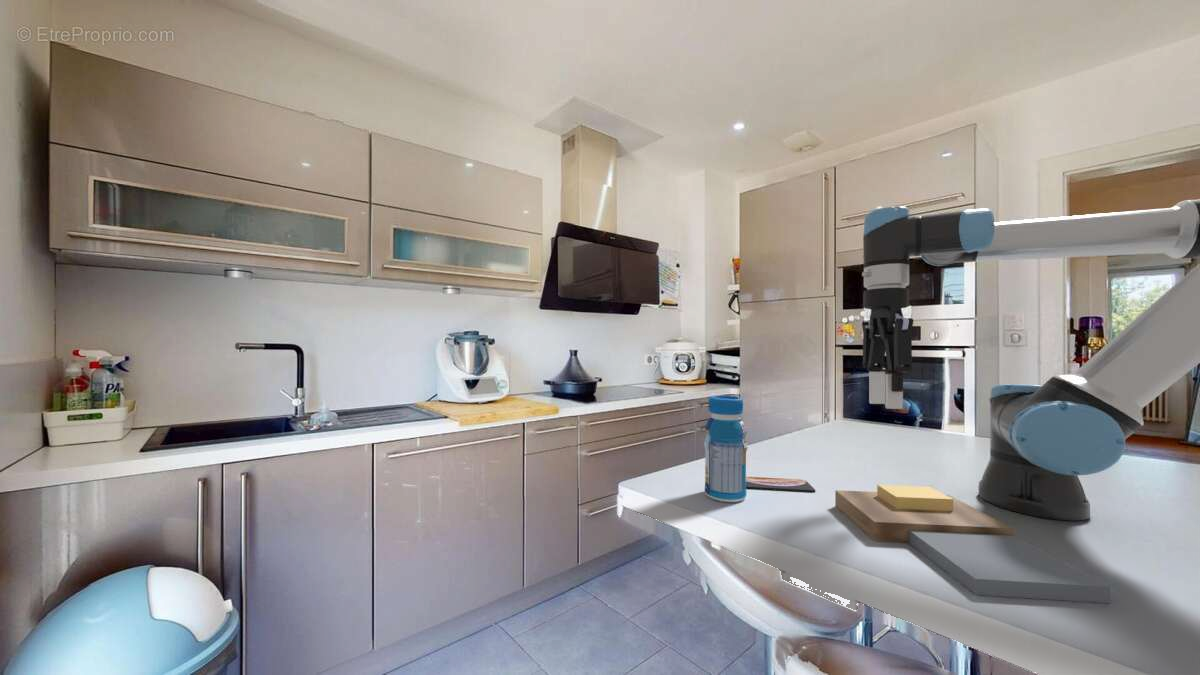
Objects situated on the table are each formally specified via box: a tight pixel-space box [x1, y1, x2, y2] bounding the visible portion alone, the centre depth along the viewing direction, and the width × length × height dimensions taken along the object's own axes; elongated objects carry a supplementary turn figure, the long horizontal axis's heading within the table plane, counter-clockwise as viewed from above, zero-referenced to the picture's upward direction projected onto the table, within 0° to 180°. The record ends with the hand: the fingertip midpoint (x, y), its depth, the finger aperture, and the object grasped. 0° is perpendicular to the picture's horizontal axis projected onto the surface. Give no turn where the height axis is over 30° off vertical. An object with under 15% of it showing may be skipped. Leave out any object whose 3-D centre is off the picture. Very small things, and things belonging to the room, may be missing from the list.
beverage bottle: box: [703, 395, 748, 503], centre depth 86 cm, size 8×8×20 cm
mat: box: [909, 531, 1111, 604], centre depth 59 cm, size 15×13×2 cm
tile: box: [876, 484, 953, 511], centre depth 75 cm, size 9×6×2 cm, turn 84°
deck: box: [834, 489, 1014, 544], centre depth 73 cm, size 20×14×3 cm
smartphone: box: [746, 476, 816, 494], centre depth 93 cm, size 8×1×15 cm
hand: (885, 405), depth 84 cm, fingers open, 5 cm apart
